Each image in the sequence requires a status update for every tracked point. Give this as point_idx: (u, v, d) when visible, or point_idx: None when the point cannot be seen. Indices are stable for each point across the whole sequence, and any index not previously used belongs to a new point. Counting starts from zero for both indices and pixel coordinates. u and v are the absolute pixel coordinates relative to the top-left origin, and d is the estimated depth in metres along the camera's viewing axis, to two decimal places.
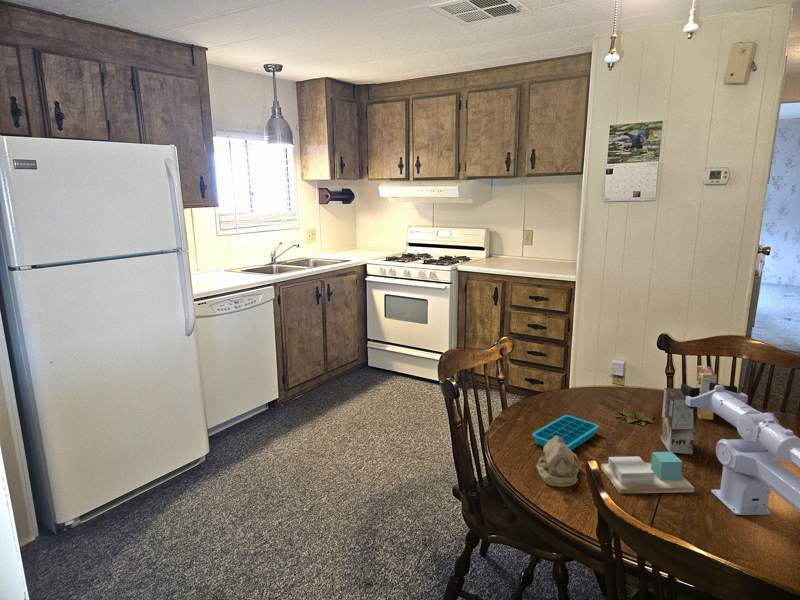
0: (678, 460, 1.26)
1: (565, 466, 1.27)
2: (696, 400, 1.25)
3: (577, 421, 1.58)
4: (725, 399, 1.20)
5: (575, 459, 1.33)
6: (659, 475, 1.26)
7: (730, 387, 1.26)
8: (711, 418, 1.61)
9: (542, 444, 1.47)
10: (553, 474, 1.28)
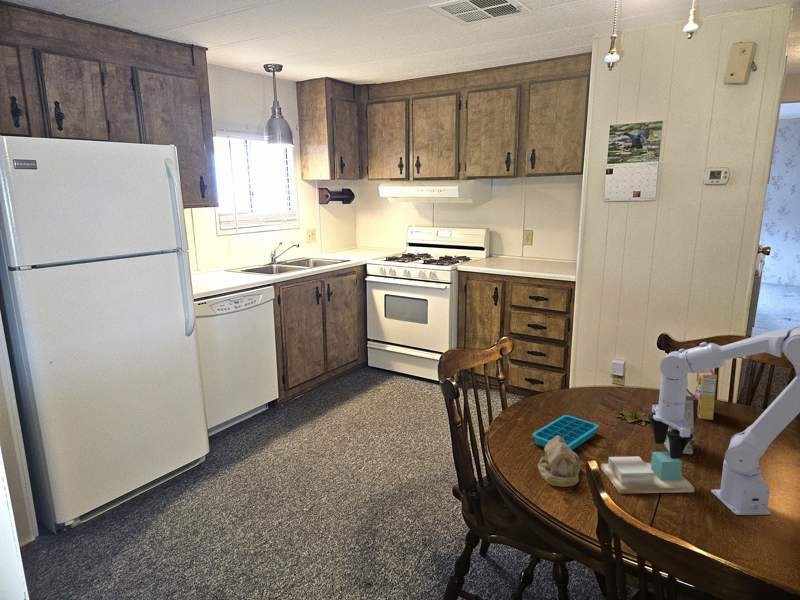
0: (678, 460, 1.26)
1: (567, 466, 1.27)
2: (680, 427, 1.20)
3: (577, 421, 1.58)
4: (665, 403, 1.23)
5: (576, 459, 1.33)
6: (659, 475, 1.26)
7: (651, 417, 1.30)
8: (711, 418, 1.61)
9: (542, 444, 1.47)
10: (555, 474, 1.28)
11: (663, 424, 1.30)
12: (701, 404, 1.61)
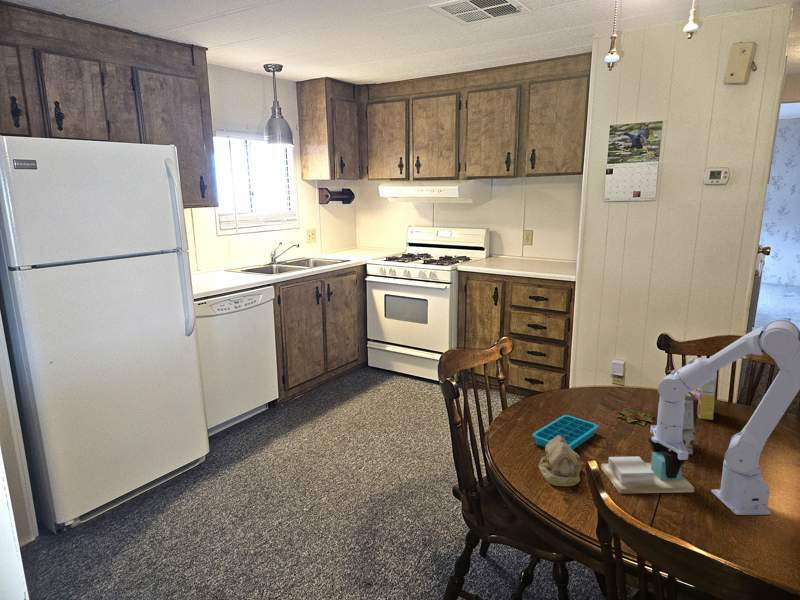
0: None
1: (568, 466, 1.27)
2: (678, 450, 1.21)
3: (576, 421, 1.58)
4: (663, 425, 1.24)
5: (577, 458, 1.33)
6: (659, 475, 1.26)
7: (651, 440, 1.30)
8: (711, 418, 1.61)
9: (543, 444, 1.47)
10: (556, 474, 1.28)
11: (663, 447, 1.30)
12: (701, 404, 1.61)
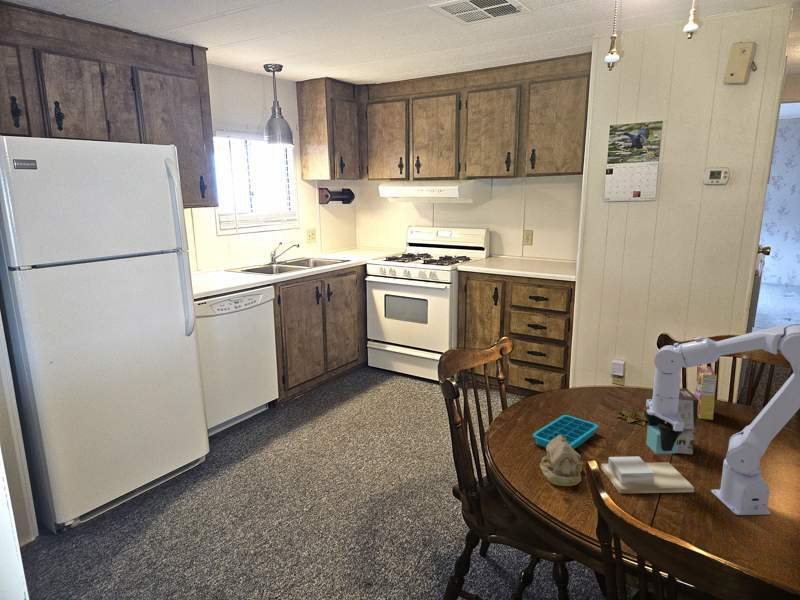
0: None
1: (570, 465, 1.27)
2: (674, 421, 1.20)
3: (576, 421, 1.58)
4: (658, 397, 1.23)
5: (578, 458, 1.33)
6: (654, 448, 1.25)
7: (647, 414, 1.29)
8: (711, 418, 1.61)
9: (543, 444, 1.46)
10: (558, 473, 1.28)
11: (659, 420, 1.28)
12: (701, 404, 1.61)
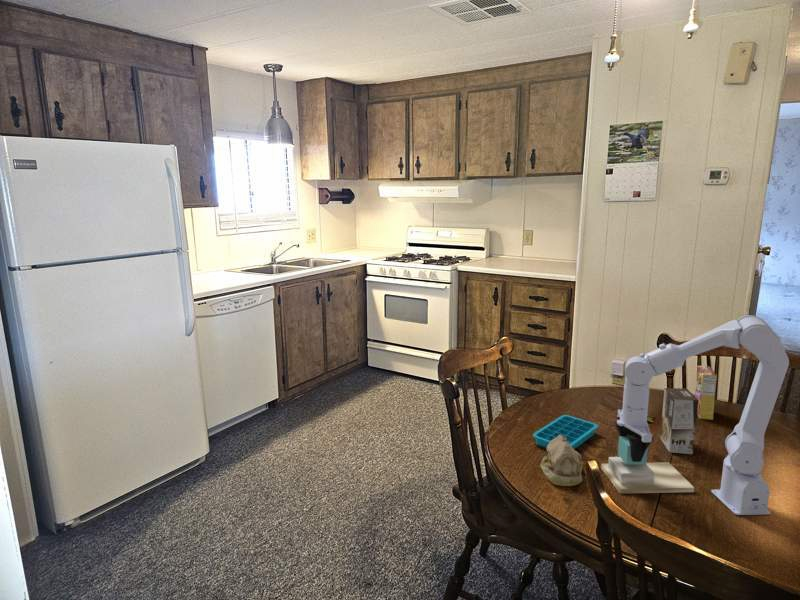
0: None
1: (571, 465, 1.27)
2: (642, 432, 1.20)
3: (576, 421, 1.58)
4: (627, 408, 1.23)
5: (579, 458, 1.33)
6: (625, 459, 1.26)
7: (618, 424, 1.29)
8: (711, 418, 1.61)
9: (543, 445, 1.46)
10: (559, 473, 1.28)
11: (630, 431, 1.29)
12: (701, 404, 1.61)
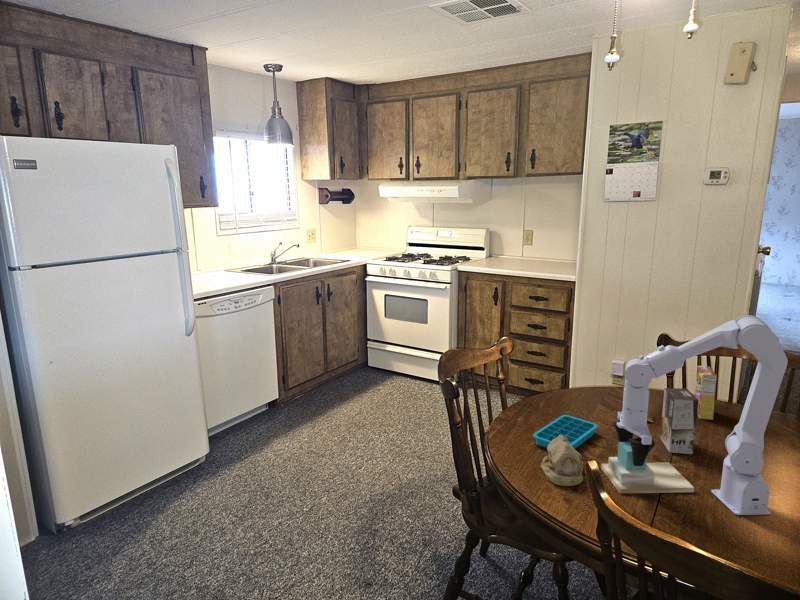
0: None
1: (572, 465, 1.27)
2: (642, 435, 1.20)
3: (576, 421, 1.58)
4: (627, 410, 1.23)
5: (579, 457, 1.33)
6: (625, 465, 1.26)
7: (616, 424, 1.30)
8: (711, 418, 1.61)
9: (543, 445, 1.46)
10: (560, 473, 1.28)
11: (628, 431, 1.30)
12: (701, 404, 1.61)
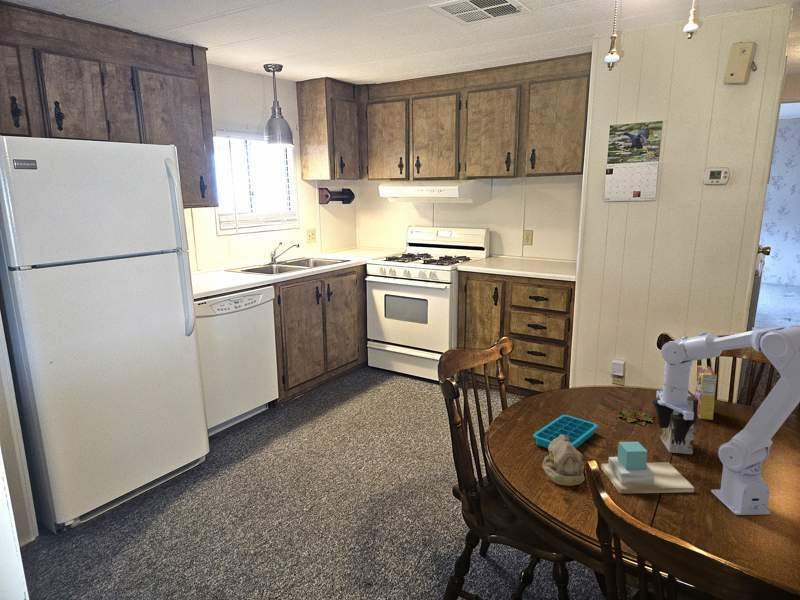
0: (643, 450, 1.25)
1: (573, 465, 1.27)
2: (684, 411, 1.26)
3: (575, 421, 1.58)
4: (669, 388, 1.29)
5: (580, 457, 1.34)
6: (625, 465, 1.26)
7: (656, 403, 1.36)
8: (711, 418, 1.61)
9: (543, 445, 1.46)
10: (562, 473, 1.28)
11: (667, 409, 1.35)
12: (701, 404, 1.61)
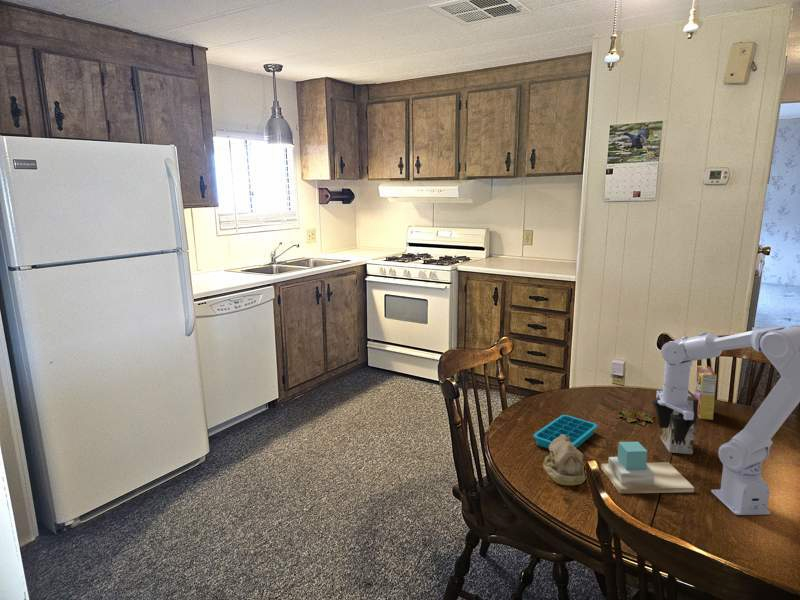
0: (643, 450, 1.25)
1: (575, 464, 1.27)
2: (684, 411, 1.26)
3: (575, 420, 1.58)
4: (669, 388, 1.29)
5: (581, 457, 1.34)
6: (625, 465, 1.26)
7: (656, 403, 1.36)
8: (711, 418, 1.61)
9: (544, 445, 1.46)
10: (563, 473, 1.28)
11: (667, 409, 1.35)
12: (701, 404, 1.61)
